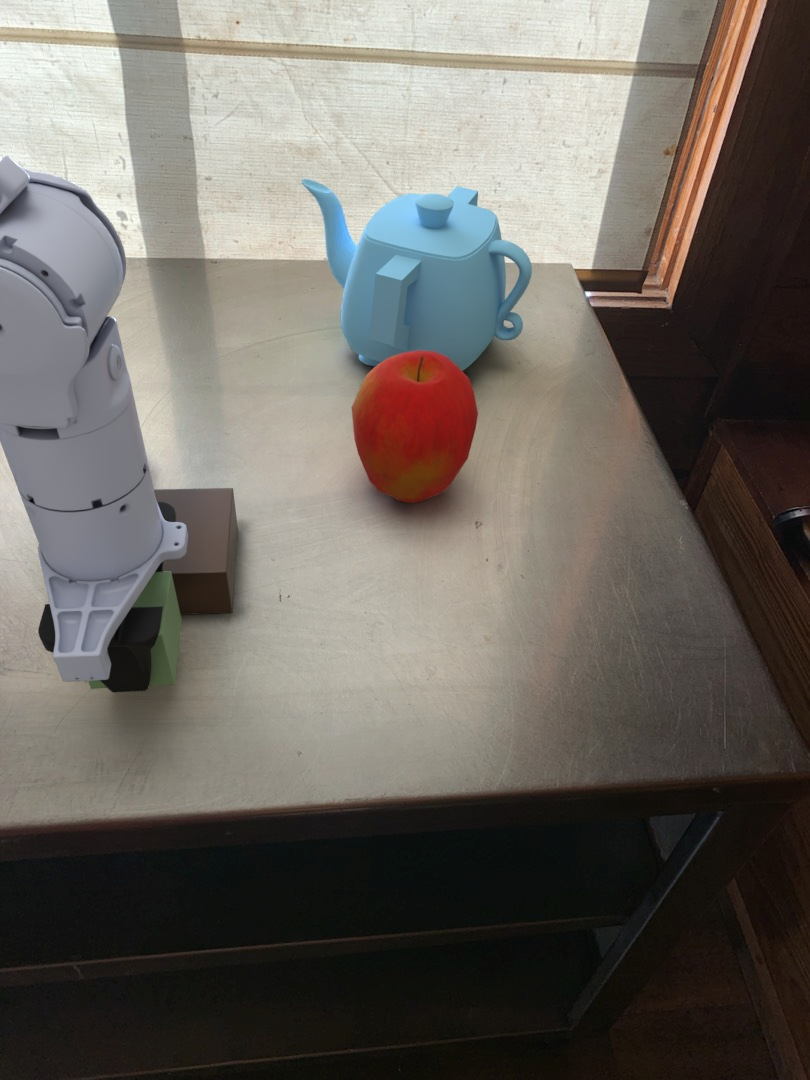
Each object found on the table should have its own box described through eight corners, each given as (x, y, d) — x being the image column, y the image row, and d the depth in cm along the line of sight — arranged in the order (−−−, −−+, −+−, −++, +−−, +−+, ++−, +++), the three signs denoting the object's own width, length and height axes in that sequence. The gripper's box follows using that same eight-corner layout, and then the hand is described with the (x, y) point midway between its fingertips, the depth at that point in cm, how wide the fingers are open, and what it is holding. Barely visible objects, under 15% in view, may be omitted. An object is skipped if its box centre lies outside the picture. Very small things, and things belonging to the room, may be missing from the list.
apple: (394, 437, 66) (402, 307, 58) (487, 480, 63) (511, 349, 55) (326, 496, 61) (325, 361, 52) (425, 546, 57) (441, 411, 49)
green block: (90, 689, 44) (71, 639, 41) (104, 625, 47) (87, 573, 44) (174, 685, 45) (162, 635, 42) (182, 622, 48) (171, 571, 45)
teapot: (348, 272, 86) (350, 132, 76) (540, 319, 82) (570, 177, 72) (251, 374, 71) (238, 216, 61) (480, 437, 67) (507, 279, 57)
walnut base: (106, 618, 51) (93, 576, 48) (124, 531, 57) (113, 489, 54) (232, 613, 52) (226, 572, 49) (238, 528, 58) (233, 487, 55)
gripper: (154, 585, 32) (196, 758, 41) (187, 379, 42) (214, 556, 51) (-33, 591, 31) (55, 766, 40) (47, 380, 41) (102, 560, 50)
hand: (136, 649), depth 46 cm, fingers closed on green block, 4 cm apart
